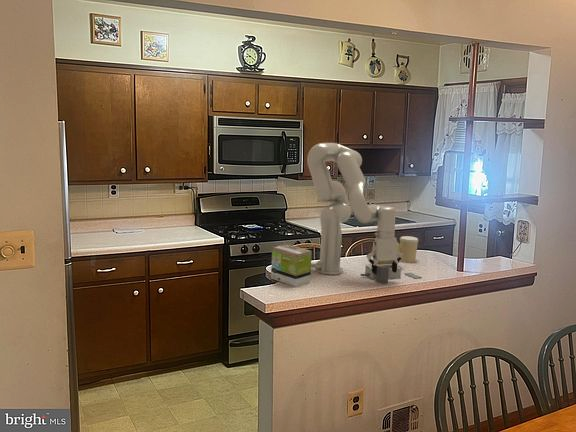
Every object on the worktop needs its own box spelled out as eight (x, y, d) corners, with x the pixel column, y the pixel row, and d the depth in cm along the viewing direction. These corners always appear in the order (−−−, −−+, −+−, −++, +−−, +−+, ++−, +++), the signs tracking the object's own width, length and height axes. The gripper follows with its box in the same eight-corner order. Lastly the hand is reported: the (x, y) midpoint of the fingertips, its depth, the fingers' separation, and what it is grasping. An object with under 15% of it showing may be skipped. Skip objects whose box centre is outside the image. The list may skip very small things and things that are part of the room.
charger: (379, 283, 237) (380, 268, 235) (375, 281, 240) (376, 265, 239) (387, 283, 238) (389, 267, 237) (383, 280, 242) (384, 265, 240)
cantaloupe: (364, 265, 266) (366, 235, 264) (385, 261, 275) (387, 232, 272) (386, 272, 255) (389, 241, 252) (407, 268, 263) (409, 238, 261)
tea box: (270, 279, 236) (271, 246, 234) (285, 275, 244) (286, 243, 241) (295, 287, 226) (297, 253, 224) (311, 283, 234) (312, 249, 231)
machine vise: (364, 280, 241) (365, 269, 240) (357, 275, 248) (357, 264, 247) (400, 278, 246) (401, 267, 245) (392, 273, 254) (392, 262, 253)
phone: (414, 280, 246) (414, 278, 246) (403, 275, 253) (403, 273, 253) (421, 279, 248) (421, 277, 248) (410, 274, 255) (410, 272, 255)
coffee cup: (419, 260, 280) (421, 237, 278) (413, 264, 272) (414, 240, 270) (401, 257, 285) (403, 235, 283) (395, 260, 277) (397, 238, 275)
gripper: (371, 237, 229) (370, 276, 232) (407, 235, 234) (406, 273, 237) (364, 234, 236) (362, 271, 239) (399, 232, 241) (397, 269, 244)
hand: (384, 272), depth 238 cm, fingers open, 9 cm apart
